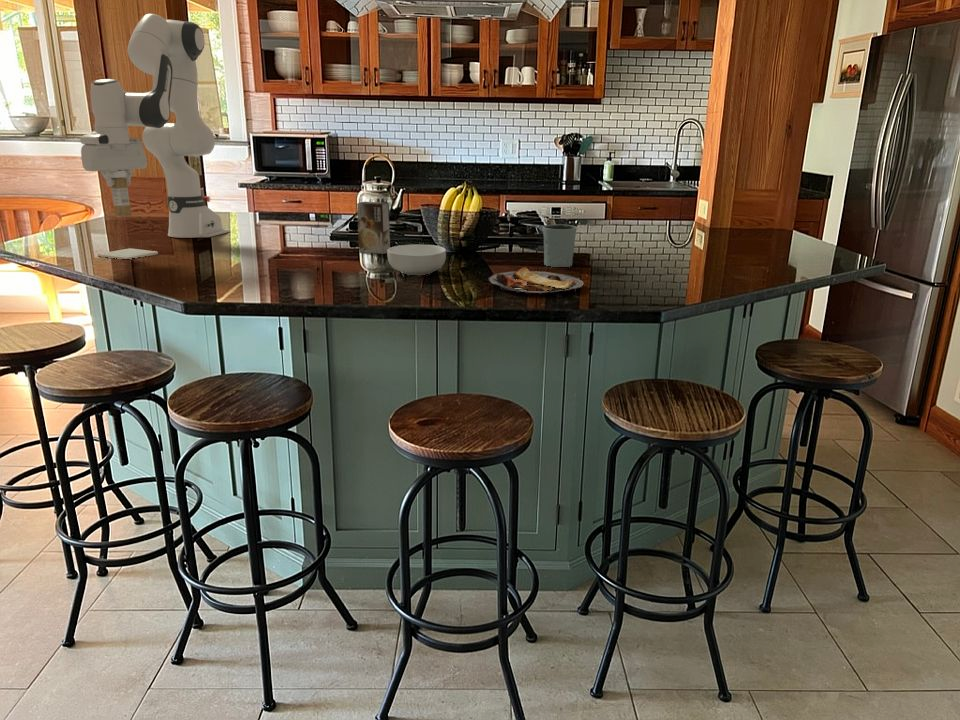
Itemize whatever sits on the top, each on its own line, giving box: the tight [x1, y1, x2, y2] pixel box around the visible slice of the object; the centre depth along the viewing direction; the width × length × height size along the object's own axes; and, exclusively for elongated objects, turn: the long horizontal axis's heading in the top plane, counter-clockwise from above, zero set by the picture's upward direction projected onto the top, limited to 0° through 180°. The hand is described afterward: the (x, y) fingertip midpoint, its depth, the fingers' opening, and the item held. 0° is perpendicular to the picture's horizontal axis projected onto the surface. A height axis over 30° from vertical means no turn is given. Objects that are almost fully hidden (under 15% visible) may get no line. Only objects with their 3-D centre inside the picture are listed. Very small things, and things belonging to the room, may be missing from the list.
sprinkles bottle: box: [109, 170, 132, 218], centre depth 218 cm, size 5×5×13 cm
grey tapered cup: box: [542, 223, 578, 268], centre depth 220 cm, size 10×10×12 cm
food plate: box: [487, 266, 585, 295], centre depth 192 cm, size 25×23×4 cm
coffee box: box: [356, 201, 391, 255], centre depth 236 cm, size 9×6×16 cm
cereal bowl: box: [386, 244, 447, 276], centre depth 205 cm, size 17×17×7 cm
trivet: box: [97, 247, 159, 260], centre depth 223 cm, size 12×12×1 cm
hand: (119, 185), depth 217 cm, fingers closed on sprinkles bottle, 4 cm apart
